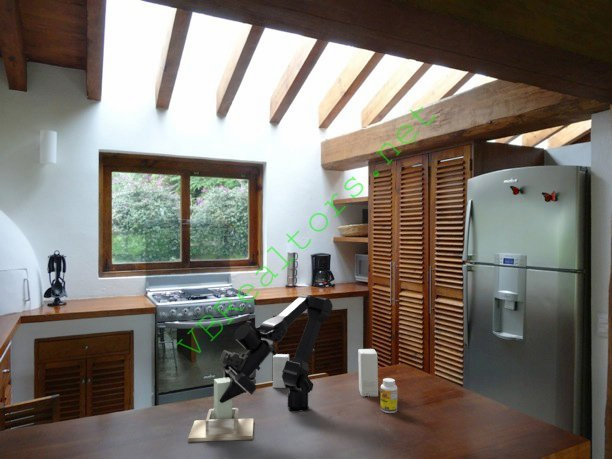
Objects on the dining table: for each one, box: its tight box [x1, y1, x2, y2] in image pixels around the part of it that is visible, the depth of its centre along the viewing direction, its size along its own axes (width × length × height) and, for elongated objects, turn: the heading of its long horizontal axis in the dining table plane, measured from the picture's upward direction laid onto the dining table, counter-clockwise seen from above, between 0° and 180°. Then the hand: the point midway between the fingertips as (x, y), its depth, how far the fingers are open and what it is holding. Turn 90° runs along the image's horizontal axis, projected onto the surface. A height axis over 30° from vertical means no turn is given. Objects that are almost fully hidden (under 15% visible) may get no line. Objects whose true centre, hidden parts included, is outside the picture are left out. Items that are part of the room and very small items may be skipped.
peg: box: [213, 377, 233, 419], centre depth 128 cm, size 4×4×12 cm
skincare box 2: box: [357, 348, 379, 398], centre depth 161 cm, size 8×7×16 cm
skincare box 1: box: [272, 353, 290, 389], centre depth 167 cm, size 6×4×12 cm
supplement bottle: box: [380, 377, 398, 414], centre depth 144 cm, size 6×6×10 cm
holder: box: [187, 407, 254, 443], centre depth 128 cm, size 18×12×5 cm, turn 96°
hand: (218, 399), depth 127 cm, fingers closed on peg, 4 cm apart
